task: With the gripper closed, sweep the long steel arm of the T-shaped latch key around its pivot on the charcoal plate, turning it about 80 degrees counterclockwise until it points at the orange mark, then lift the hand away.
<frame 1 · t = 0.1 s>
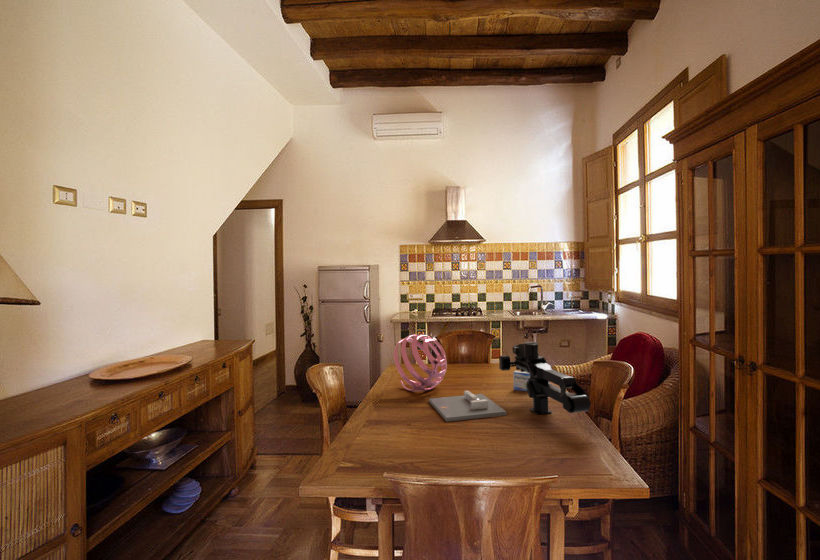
hand: (511, 358, 197), 17 cm above the table, tool horizontal, fingers open, 9 cm apart
latch key: (472, 399, 180), point 3 cm above the table, hinge at 0.0°
medicine box: (522, 390, 204), on the table
pink spiral sphere sculpture: (421, 389, 208), on the table
latch plate: (476, 410, 176), on the table
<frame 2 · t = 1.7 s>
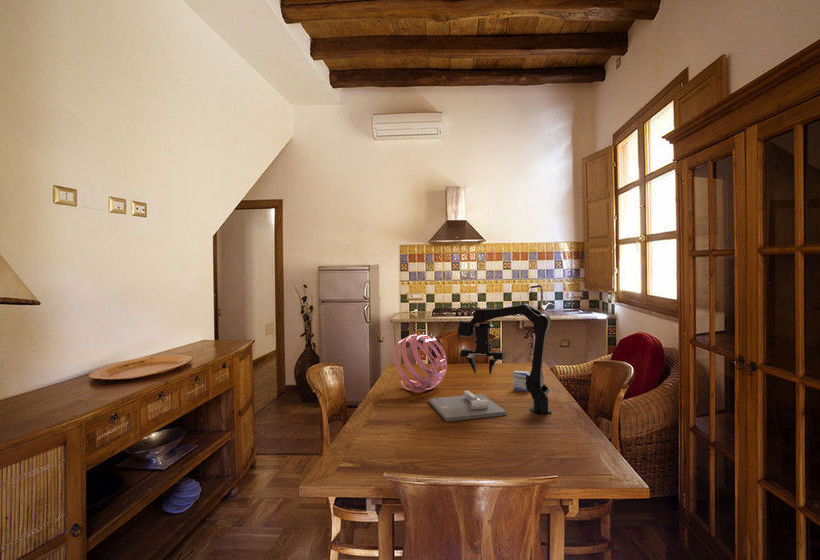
hand: (482, 373, 184), 13 cm above the table, tool pointing down, fingers open, 6 cm apart
nothing on the table moved.
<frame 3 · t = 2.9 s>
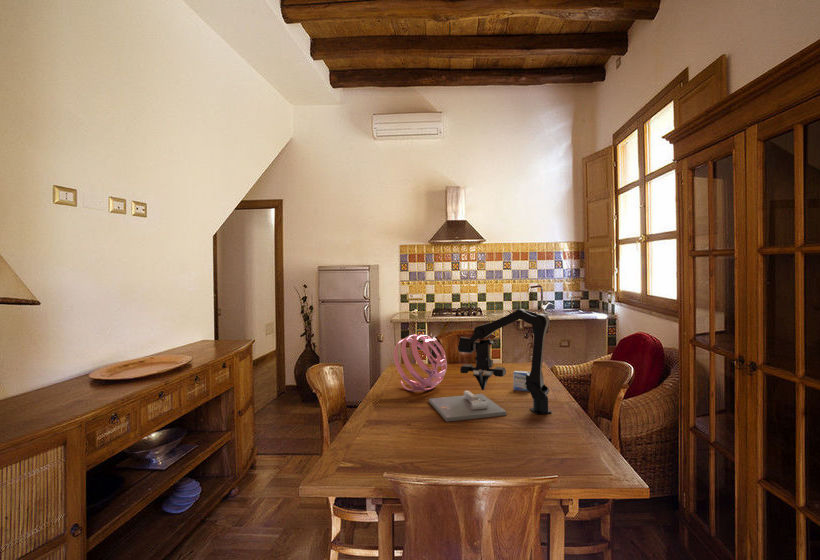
hand: (483, 390, 184), 6 cm above the table, tool pointing down, fingers closed
nothing on the table moved.
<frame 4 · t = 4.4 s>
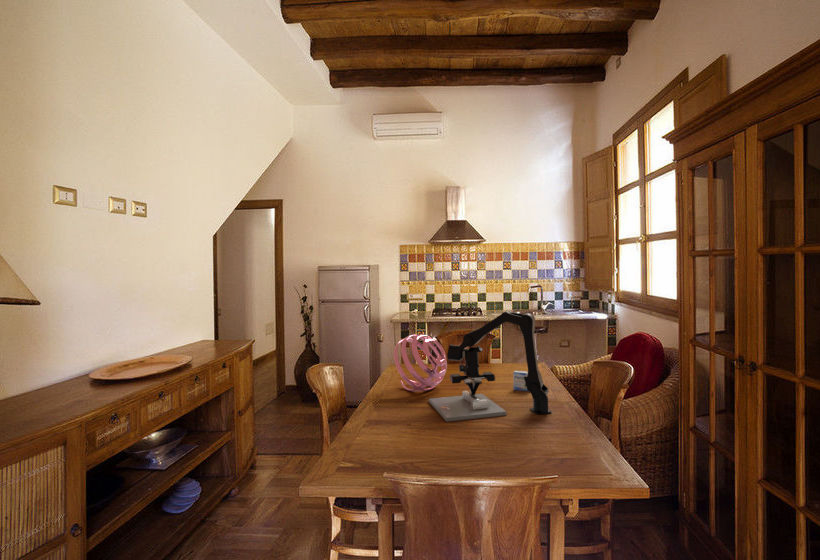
hand: (473, 397, 185), 3 cm above the table, tool pointing down, fingers closed
latch key: (472, 399, 180), point 3 cm above the table, hinge at 4.1°, touching gripper
everything else where it was.
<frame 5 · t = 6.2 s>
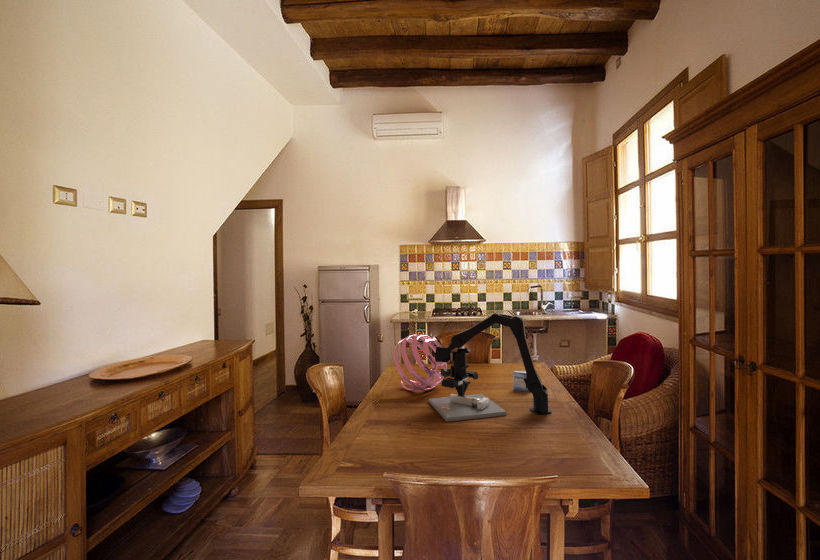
hand: (461, 398, 183), 3 cm above the table, tool pointing down, fingers closed
latch key: (467, 400, 178), point 3 cm above the table, hinge at 42.2°, touching gripper
everything else where it was.
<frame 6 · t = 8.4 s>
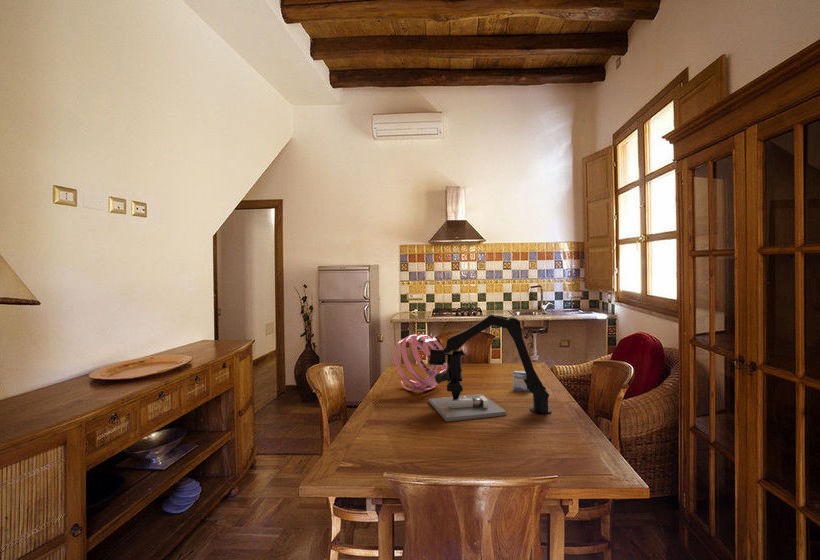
hand: (455, 402, 179), 2 cm above the table, tool pointing down, fingers closed
latch key: (467, 402, 176), point 3 cm above the table, hinge at 82.7°
everything else where it was.
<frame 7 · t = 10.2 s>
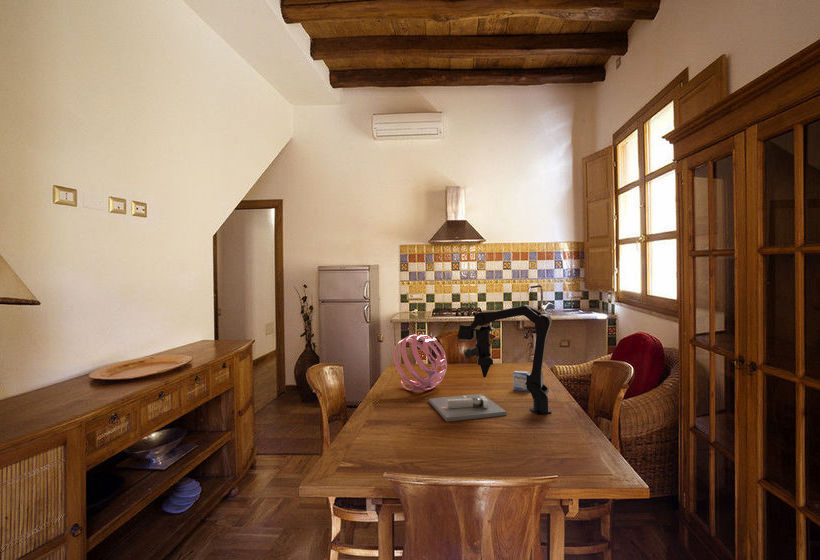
hand: (484, 377, 182), 12 cm above the table, tool pointing down, fingers closed
nothing on the table moved.
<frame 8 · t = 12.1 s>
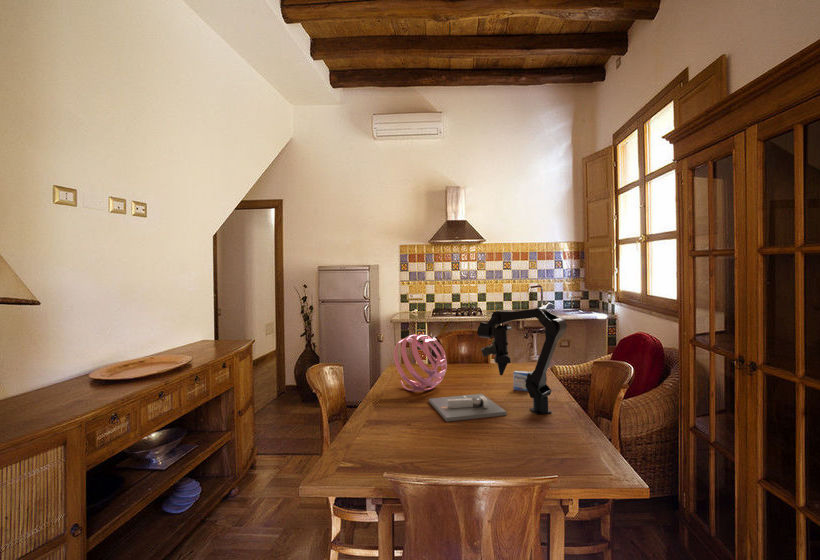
hand: (501, 375, 185), 12 cm above the table, tool pointing down, fingers closed
nothing on the table moved.
at the end: latch key at +83° (first picture: +0°); the gripper is holding nothing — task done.
